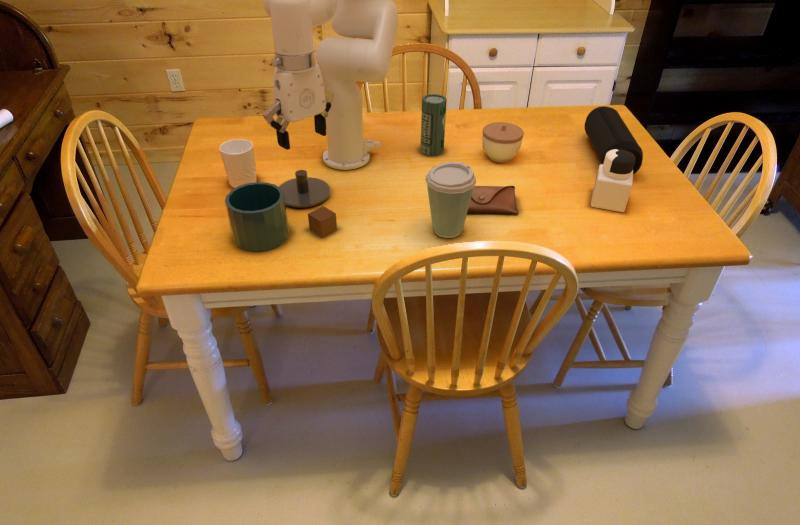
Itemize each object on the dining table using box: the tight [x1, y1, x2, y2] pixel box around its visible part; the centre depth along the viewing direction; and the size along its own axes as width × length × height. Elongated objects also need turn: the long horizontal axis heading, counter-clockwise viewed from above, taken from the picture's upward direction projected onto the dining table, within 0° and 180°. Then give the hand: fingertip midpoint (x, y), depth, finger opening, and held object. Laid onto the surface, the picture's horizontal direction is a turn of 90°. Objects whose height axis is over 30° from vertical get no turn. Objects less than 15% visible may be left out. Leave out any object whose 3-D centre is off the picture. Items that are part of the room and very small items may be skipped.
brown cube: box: [307, 205, 338, 239], centre depth 124 cm, size 4×4×4 cm
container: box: [590, 149, 636, 213], centre depth 132 cm, size 8×8×13 cm
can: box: [419, 93, 448, 157], centre depth 150 cm, size 6×6×15 cm
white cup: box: [218, 138, 258, 189], centre depth 138 cm, size 8×8×10 cm
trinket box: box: [481, 121, 525, 163], centre depth 150 cm, size 11×11×9 cm
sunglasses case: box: [467, 185, 520, 215], centre depth 133 cm, size 18×7×7 cm
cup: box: [224, 181, 290, 253], centre depth 121 cm, size 12×12×10 cm
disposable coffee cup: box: [425, 161, 477, 239], centre depth 121 cm, size 11×11×15 cm
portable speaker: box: [583, 105, 644, 175], centre depth 150 cm, size 26×10×10 cm, turn 178°
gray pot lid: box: [278, 169, 331, 208], centre depth 135 cm, size 13×13×6 cm
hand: (303, 140), depth 120 cm, fingers open, 9 cm apart
